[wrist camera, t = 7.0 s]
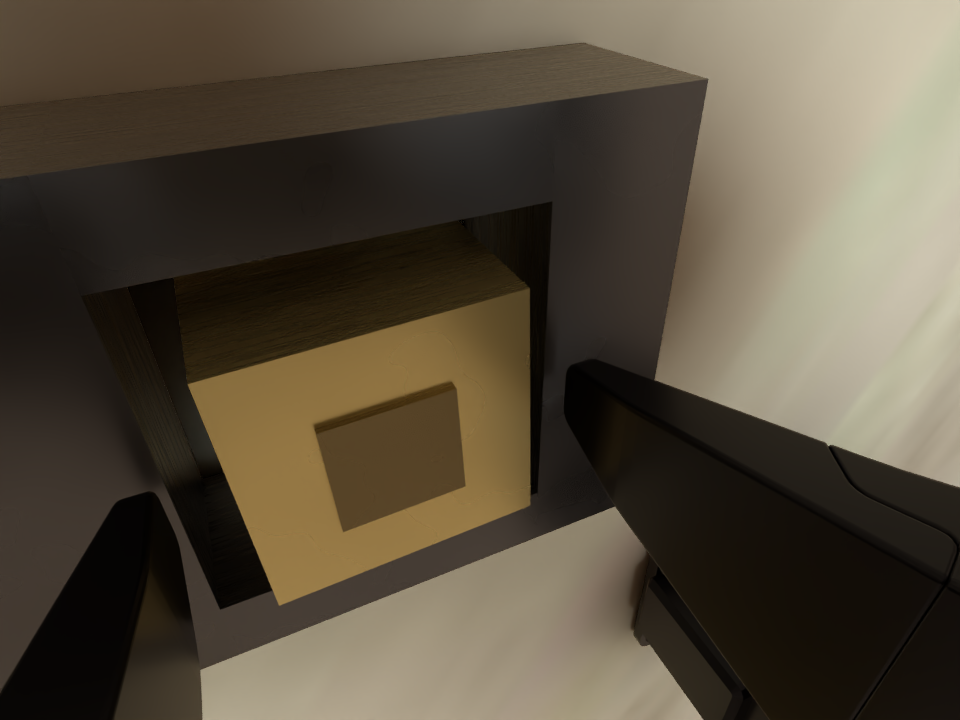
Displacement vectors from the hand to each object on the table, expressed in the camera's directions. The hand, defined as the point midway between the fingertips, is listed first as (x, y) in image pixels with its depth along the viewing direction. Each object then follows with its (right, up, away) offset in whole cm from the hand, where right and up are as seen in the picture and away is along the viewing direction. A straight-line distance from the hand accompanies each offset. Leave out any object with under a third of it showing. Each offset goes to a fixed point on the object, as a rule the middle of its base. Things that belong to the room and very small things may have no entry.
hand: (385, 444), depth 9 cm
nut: (-1, +2, +3) cm, 4 cm away
